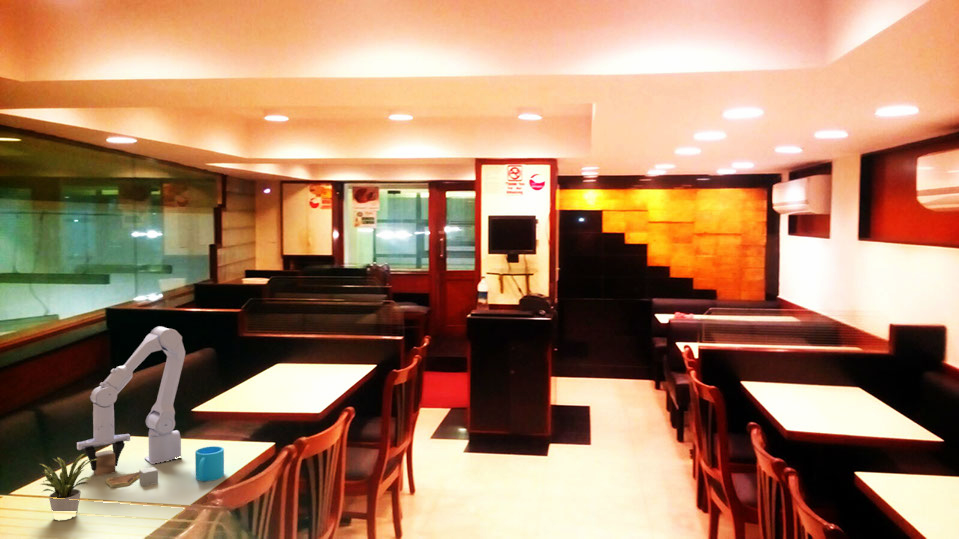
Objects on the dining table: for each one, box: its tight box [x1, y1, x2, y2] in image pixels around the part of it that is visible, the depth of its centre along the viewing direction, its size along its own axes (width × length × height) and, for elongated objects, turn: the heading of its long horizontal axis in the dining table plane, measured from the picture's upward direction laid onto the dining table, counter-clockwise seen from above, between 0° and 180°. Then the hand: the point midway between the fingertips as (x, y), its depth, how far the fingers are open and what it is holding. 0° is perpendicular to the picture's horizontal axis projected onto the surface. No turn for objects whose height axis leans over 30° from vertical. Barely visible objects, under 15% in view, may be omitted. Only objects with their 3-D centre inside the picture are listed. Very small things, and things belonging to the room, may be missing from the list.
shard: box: [105, 471, 139, 488], centre depth 198 cm, size 11×8×2 cm
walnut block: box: [93, 449, 116, 477], centre depth 206 cm, size 5×5×6 cm
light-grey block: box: [138, 466, 159, 487], centre depth 197 cm, size 4×4×4 cm
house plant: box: [40, 452, 97, 512], centre depth 173 cm, size 14×14×16 cm
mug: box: [195, 445, 225, 482], centre depth 201 cm, size 12×8×8 cm
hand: (104, 467), depth 206 cm, fingers open, 5 cm apart
